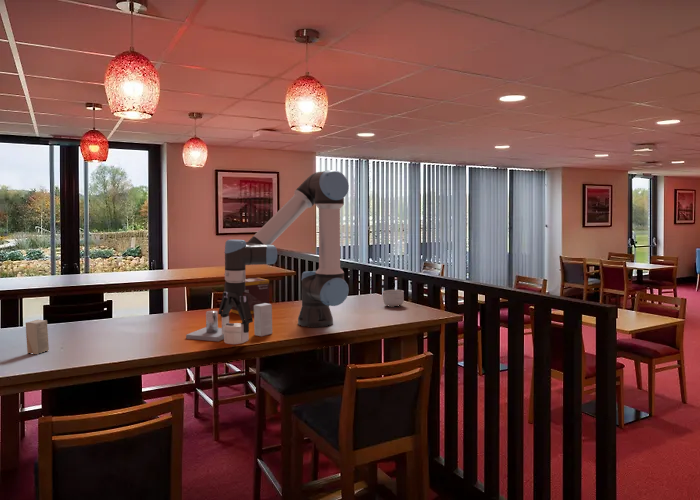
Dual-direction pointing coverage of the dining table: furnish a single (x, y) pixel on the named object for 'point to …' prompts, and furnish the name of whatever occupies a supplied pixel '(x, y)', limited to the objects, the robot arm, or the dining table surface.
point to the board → (206, 335)
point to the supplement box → (255, 293)
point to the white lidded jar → (232, 333)
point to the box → (37, 336)
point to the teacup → (393, 297)
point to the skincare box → (263, 319)
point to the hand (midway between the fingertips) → (234, 337)
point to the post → (211, 321)
